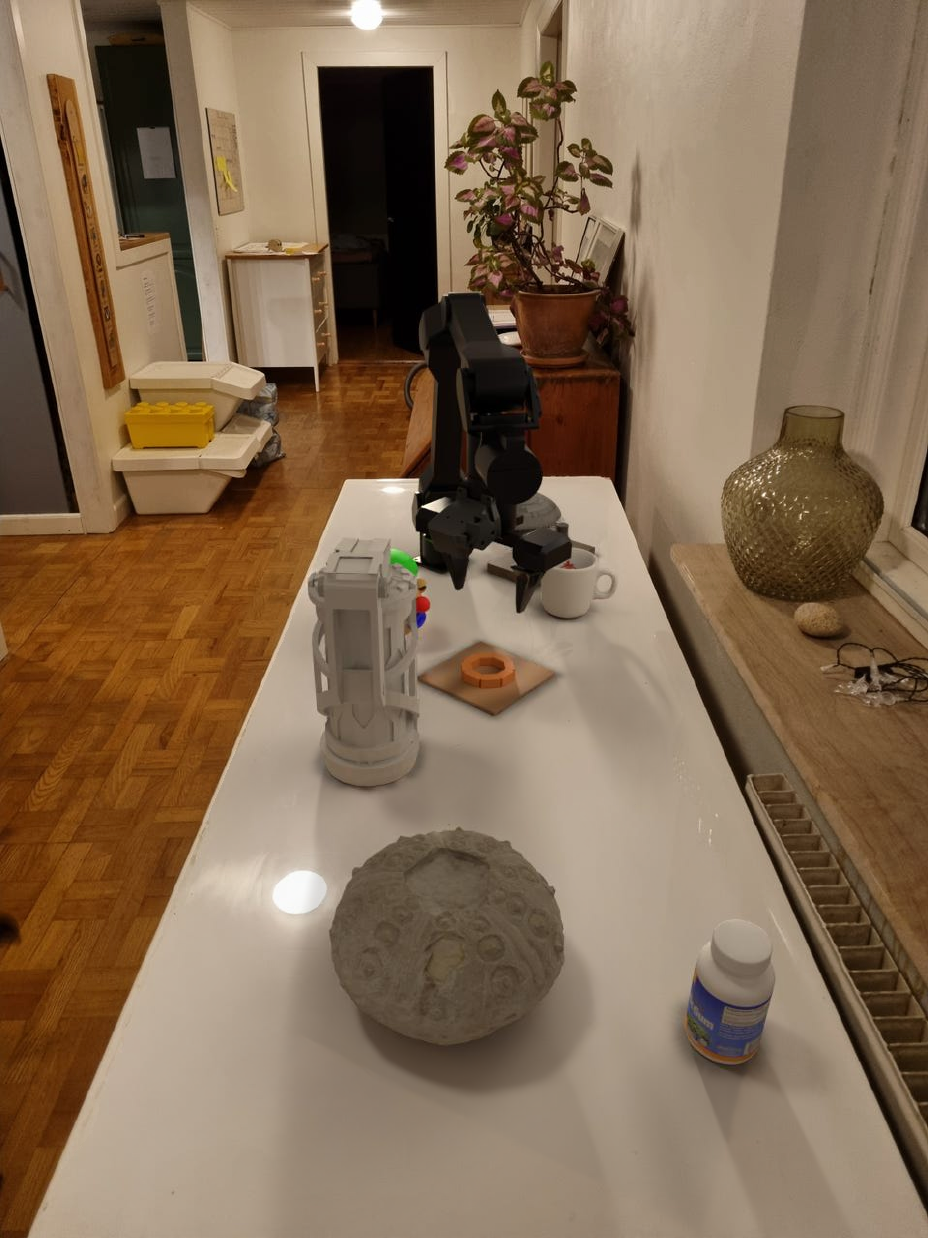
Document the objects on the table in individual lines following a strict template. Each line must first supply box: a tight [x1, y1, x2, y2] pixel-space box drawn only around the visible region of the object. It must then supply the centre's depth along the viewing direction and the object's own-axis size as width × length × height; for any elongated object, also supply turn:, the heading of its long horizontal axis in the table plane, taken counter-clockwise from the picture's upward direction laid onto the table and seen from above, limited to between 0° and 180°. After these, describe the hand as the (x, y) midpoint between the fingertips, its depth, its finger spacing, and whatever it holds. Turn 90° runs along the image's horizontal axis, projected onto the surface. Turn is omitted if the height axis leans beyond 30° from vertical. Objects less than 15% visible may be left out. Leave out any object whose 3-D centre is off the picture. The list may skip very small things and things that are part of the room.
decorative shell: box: [328, 826, 565, 1046], centre depth 70 cm, size 18×18×10 cm
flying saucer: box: [516, 491, 562, 531], centre depth 157 cm, size 15×15×6 cm
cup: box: [540, 548, 619, 619], centre depth 127 cm, size 11×8×8 cm
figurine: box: [390, 548, 431, 636], centre depth 118 cm, size 11×10×12 cm
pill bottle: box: [684, 918, 776, 1065], centre depth 65 cm, size 5×5×10 cm
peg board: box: [486, 521, 596, 588], centre depth 141 cm, size 9×16×5 cm, turn 140°
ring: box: [461, 653, 515, 688], centre depth 112 cm, size 6×6×1 cm
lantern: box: [307, 537, 421, 788], centre depth 90 cm, size 13×10×25 cm
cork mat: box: [417, 640, 556, 716], centre depth 112 cm, size 12×12×1 cm
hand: (489, 600), depth 108 cm, fingers open, 9 cm apart
